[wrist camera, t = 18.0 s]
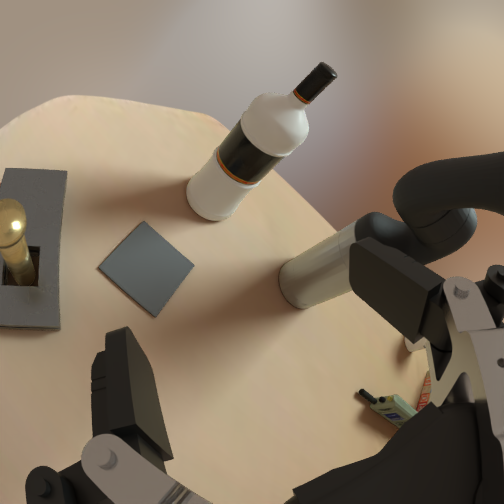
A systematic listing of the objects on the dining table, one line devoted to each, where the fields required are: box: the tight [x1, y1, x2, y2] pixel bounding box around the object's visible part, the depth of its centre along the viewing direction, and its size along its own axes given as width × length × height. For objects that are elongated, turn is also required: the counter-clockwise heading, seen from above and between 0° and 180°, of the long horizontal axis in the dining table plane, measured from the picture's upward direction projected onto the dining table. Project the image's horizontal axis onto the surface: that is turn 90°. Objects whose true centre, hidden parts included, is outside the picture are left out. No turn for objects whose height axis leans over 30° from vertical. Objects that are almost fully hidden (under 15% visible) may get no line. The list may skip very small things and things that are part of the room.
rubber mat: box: [99, 221, 195, 317], centre depth 39 cm, size 10×10×1 cm
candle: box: [405, 337, 427, 352], centre depth 63 cm, size 6×6×15 cm
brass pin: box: [0, 198, 36, 286], centre depth 23 cm, size 4×4×14 cm
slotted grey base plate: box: [0, 168, 67, 330], centre depth 28 cm, size 21×10×3 cm, turn 14°
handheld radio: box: [359, 389, 418, 428], centre depth 51 cm, size 7×3×25 cm
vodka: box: [186, 62, 337, 221], centre depth 38 cm, size 9×9×30 cm
